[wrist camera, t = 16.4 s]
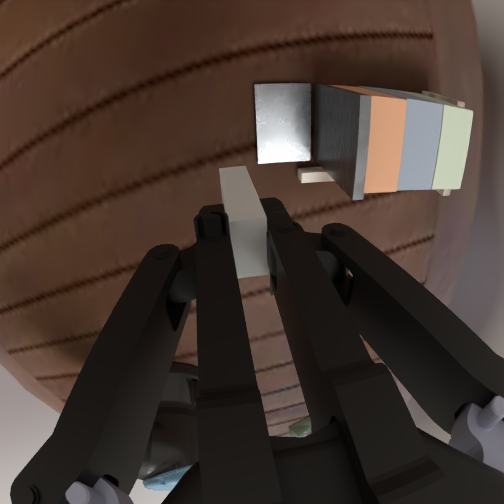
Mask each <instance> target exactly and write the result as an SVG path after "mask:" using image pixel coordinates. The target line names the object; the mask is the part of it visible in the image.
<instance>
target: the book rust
mask: <svg viewBox="0 0 504 504" xmlns="http://www.w3.org/2000/svg"><path fill="white" fill-rule="evenodd" d="M330 86H335V87H339V88H343V89H347V90H351V91H355V92H359V93H363V94H366V95H370V96H372V99H371V119H370V134H369V147H368V158H367V168H366V178H365V186H364V193H375V192H396V191H397V184H398V178H399V171H400V164H401V157H402V149H403V140H404V131H405V120H406V108H407V100H406V99H402V98H399V97H396V96H392V95H388V94H385V93H381V92H377V91H373V90H369V89H365V88H361V87H353V86H338V85H330Z"/></svg>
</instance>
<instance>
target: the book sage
mask: <svg viewBox="0 0 504 504" xmlns="http://www.w3.org/2000/svg"><path fill="white" fill-rule="evenodd" d="M391 90H392V89H391ZM395 91H399V90H395ZM399 92H403V93H406V94H410V95H414V96H417V97H421V98H424V99H427V100H430V101H434V102H437V103H440V104H443V113H442V123H441V131H440V139H439V146H438V152H437V158H436V164H435V170H434V175H433V181H432V186H431V189H460V186H461V181H462V177H463V172H464V167H465V162H466V157H467V151H468V145H469V139H470V132H471V125H472V117H473V111H471V110H469V109H466V108H463V107H460V106H457V105H454V104H451V103H448V102H445V101H442V100H439V99H436V98H433V97H429V96H426V95H422V94H418V93H412V92H406V91H399Z"/></svg>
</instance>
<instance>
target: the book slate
mask: <svg viewBox="0 0 504 504" xmlns="http://www.w3.org/2000/svg"><path fill="white" fill-rule="evenodd" d="M358 87H361V88H365V89H369V90H373V91H377V92H381V93H385V94H388V95H392V96H396V97H399V98H402V99H406V100H407V108H406V120H405V131H404V140H403V149H402V157H401V164H400V171H399V178H398V184H397V190H425V189H431V186H432V181H433V175H434V170H435V164H436V158H437V152H438V146H439V139H440V131H441V123H442V113H443V104H440V103H437V102H434V101H430V100H427V99H424V98H421V97H417V96H414V95H410V94H406V93H403V92H399V91H395V90H391V89H384V88H375V87H365V86H358Z"/></svg>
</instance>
